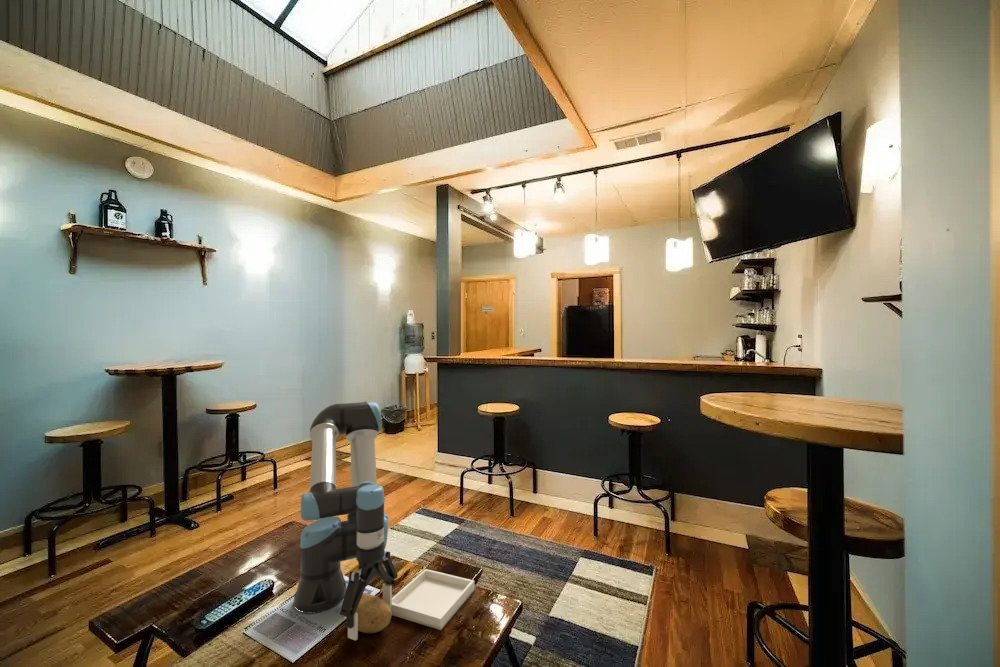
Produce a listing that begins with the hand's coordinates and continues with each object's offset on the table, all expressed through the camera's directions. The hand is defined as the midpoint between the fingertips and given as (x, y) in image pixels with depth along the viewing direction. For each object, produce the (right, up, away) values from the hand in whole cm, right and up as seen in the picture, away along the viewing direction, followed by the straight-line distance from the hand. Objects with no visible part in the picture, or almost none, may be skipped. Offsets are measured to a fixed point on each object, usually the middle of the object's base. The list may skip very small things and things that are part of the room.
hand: (371, 622), depth 109 cm
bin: (+15, -2, +12) cm, 19 cm away
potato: (0, -2, 0) cm, 2 cm away
